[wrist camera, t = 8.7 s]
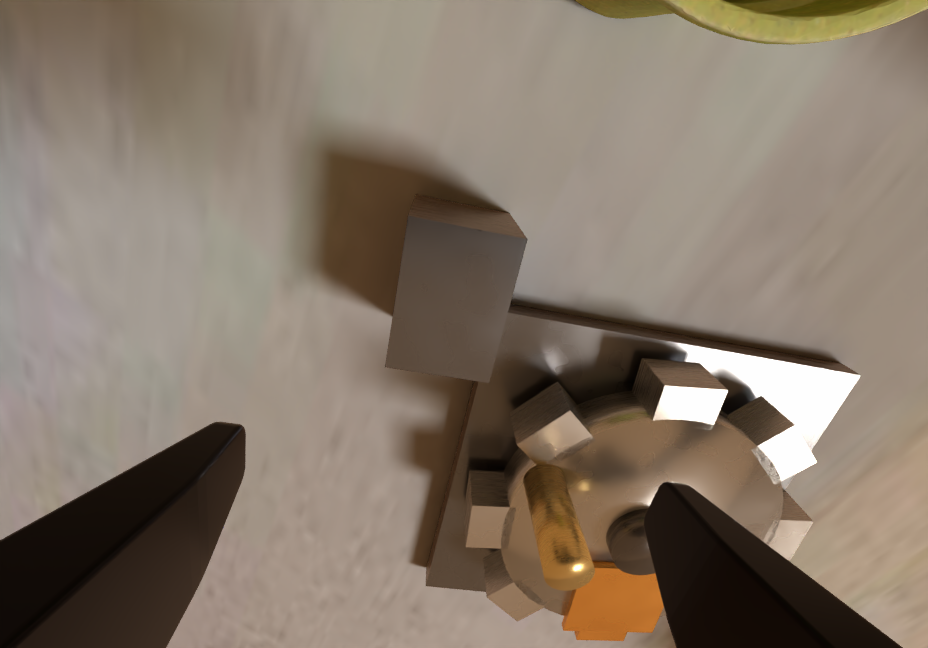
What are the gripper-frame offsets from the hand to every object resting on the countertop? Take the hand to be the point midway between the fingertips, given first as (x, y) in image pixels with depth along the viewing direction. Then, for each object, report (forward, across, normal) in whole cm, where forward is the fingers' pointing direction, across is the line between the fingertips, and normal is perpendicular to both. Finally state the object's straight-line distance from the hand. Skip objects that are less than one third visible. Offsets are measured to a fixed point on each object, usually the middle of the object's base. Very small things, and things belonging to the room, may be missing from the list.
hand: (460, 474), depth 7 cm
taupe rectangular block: (+11, 0, 0) cm, 11 cm away
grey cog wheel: (+10, -10, +9) cm, 17 cm away
